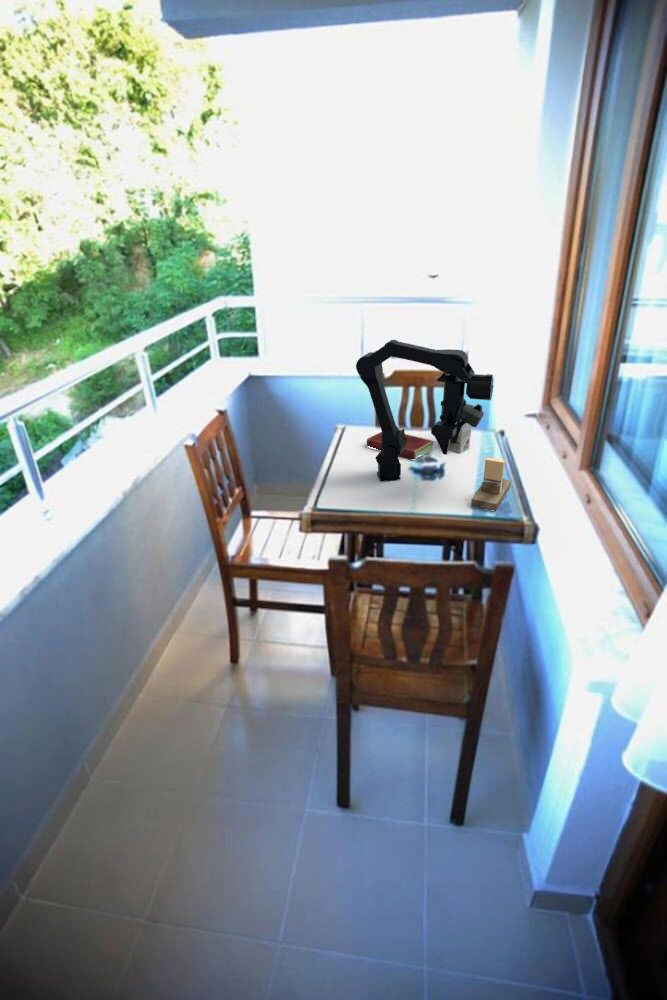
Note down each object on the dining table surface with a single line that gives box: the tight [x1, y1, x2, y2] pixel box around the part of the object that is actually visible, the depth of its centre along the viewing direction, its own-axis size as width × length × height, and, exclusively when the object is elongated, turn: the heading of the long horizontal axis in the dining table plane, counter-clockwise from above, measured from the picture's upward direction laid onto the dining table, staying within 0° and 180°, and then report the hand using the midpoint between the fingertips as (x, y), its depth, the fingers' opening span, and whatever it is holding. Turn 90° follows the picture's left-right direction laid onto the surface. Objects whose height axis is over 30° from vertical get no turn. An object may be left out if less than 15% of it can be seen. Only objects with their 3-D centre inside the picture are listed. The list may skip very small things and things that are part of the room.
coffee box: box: [438, 403, 474, 454], centre depth 176 cm, size 9×6×16 cm
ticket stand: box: [470, 478, 512, 512], centre depth 145 cm, size 7×16×6 cm, turn 149°
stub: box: [483, 457, 506, 482], centre depth 142 cm, size 5×2×6 cm, turn 59°
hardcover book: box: [366, 431, 435, 460], centre depth 181 cm, size 12×21×4 cm, turn 48°
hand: (449, 448), depth 149 cm, fingers open, 9 cm apart
